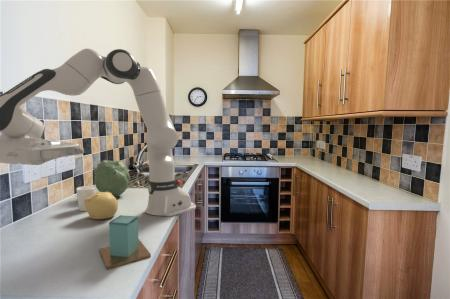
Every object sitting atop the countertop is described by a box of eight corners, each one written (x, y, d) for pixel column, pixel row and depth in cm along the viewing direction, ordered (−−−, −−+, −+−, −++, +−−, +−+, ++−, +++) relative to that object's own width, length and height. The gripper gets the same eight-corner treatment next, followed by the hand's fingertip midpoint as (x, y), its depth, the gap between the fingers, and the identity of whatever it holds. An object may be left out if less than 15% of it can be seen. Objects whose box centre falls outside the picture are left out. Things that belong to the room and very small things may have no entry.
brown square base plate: (115, 239, 86) (115, 216, 86) (162, 243, 84) (162, 220, 83) (79, 266, 70) (77, 238, 69) (136, 273, 67) (135, 244, 66)
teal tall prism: (121, 245, 80) (120, 215, 79) (138, 247, 79) (137, 216, 78) (110, 255, 74) (109, 222, 73) (128, 257, 73) (127, 223, 72)
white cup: (99, 208, 117) (98, 187, 116) (80, 213, 111) (79, 190, 110) (93, 205, 122) (92, 184, 121) (74, 208, 117) (73, 187, 116)
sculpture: (106, 210, 115) (105, 187, 114) (123, 215, 109) (122, 191, 108) (81, 218, 105) (79, 193, 104) (98, 224, 99) (97, 197, 98)
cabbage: (126, 200, 130) (125, 162, 128) (88, 201, 129) (86, 162, 127) (134, 192, 145) (133, 157, 144) (100, 192, 144) (99, 157, 142)
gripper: (0, 144, 72) (42, 145, 70) (59, 140, 93) (92, 140, 90) (2, 165, 73) (43, 167, 71) (59, 157, 93) (93, 158, 91)
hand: (71, 152), depth 81 cm, fingers open, 8 cm apart
